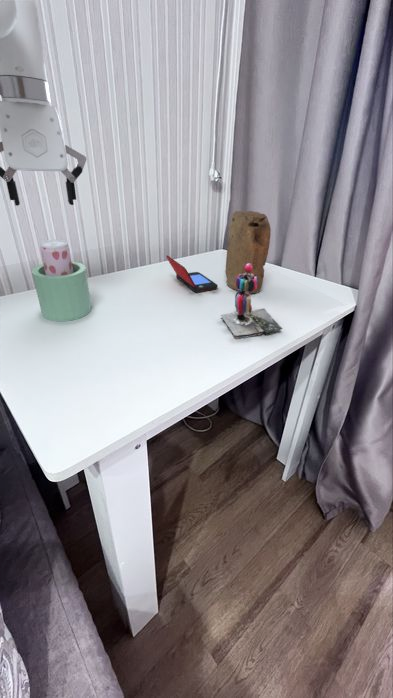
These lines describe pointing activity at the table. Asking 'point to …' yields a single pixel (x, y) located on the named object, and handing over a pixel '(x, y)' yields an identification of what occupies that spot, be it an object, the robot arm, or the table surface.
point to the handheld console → (192, 278)
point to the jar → (63, 293)
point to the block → (247, 246)
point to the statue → (248, 310)
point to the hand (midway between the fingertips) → (45, 204)
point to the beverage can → (56, 257)
